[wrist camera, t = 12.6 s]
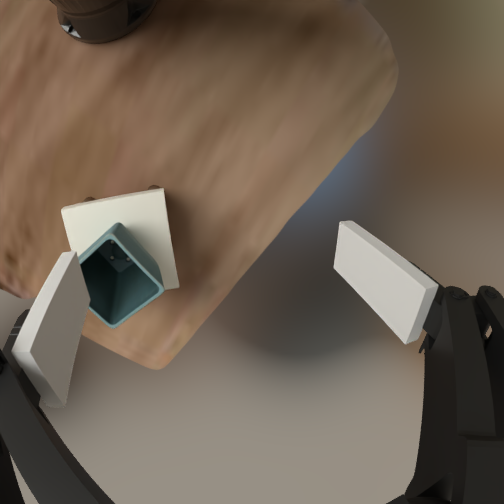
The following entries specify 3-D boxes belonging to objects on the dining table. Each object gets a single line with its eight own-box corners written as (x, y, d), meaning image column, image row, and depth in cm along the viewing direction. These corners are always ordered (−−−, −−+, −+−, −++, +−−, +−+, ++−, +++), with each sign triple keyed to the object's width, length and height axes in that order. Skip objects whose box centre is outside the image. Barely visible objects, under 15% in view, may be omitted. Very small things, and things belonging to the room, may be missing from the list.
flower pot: (120, 290, 39) (112, 331, 31) (77, 246, 35) (57, 281, 27) (166, 254, 39) (167, 290, 31) (122, 205, 34) (110, 231, 27)
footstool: (77, 194, 39) (60, 210, 32) (164, 178, 42) (163, 190, 35) (97, 274, 45) (88, 301, 38) (176, 261, 48) (179, 287, 41)
